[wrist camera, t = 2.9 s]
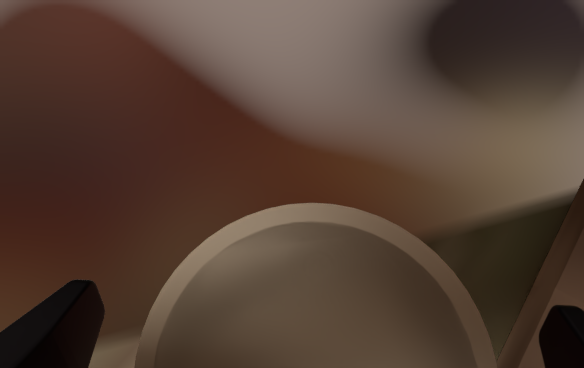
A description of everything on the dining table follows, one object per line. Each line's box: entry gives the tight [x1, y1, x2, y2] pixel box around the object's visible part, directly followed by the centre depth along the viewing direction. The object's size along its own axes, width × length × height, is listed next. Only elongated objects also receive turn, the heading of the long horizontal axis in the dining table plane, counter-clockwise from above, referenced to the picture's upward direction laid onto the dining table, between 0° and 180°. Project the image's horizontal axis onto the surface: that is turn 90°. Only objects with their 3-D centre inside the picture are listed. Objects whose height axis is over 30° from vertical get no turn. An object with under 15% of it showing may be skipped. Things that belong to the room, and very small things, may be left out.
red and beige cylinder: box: [135, 203, 497, 368], centre depth 11 cm, size 6×6×9 cm
